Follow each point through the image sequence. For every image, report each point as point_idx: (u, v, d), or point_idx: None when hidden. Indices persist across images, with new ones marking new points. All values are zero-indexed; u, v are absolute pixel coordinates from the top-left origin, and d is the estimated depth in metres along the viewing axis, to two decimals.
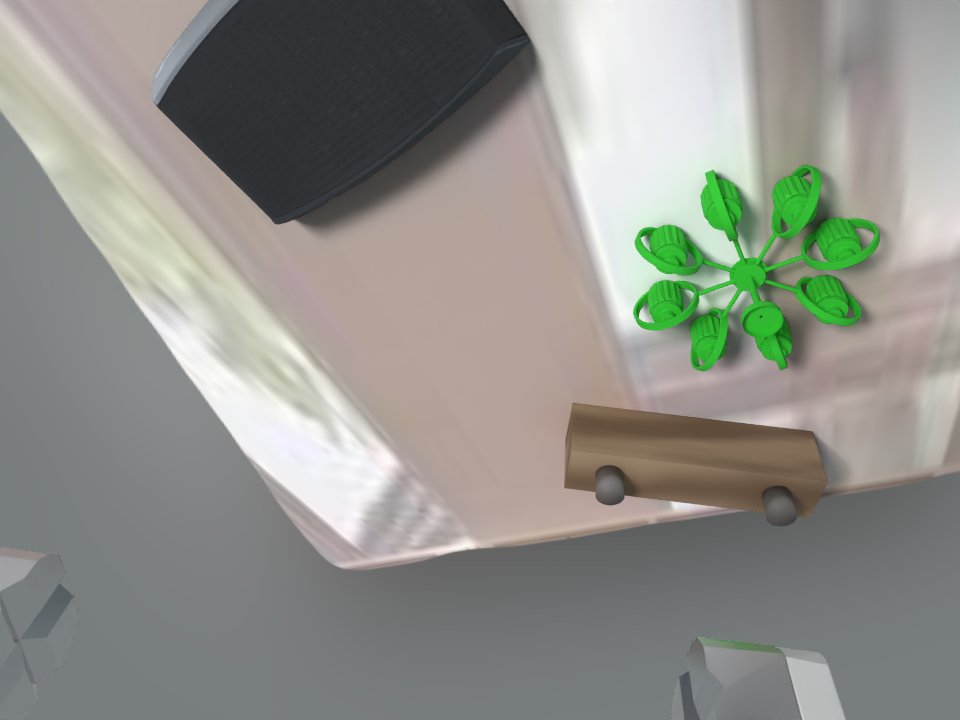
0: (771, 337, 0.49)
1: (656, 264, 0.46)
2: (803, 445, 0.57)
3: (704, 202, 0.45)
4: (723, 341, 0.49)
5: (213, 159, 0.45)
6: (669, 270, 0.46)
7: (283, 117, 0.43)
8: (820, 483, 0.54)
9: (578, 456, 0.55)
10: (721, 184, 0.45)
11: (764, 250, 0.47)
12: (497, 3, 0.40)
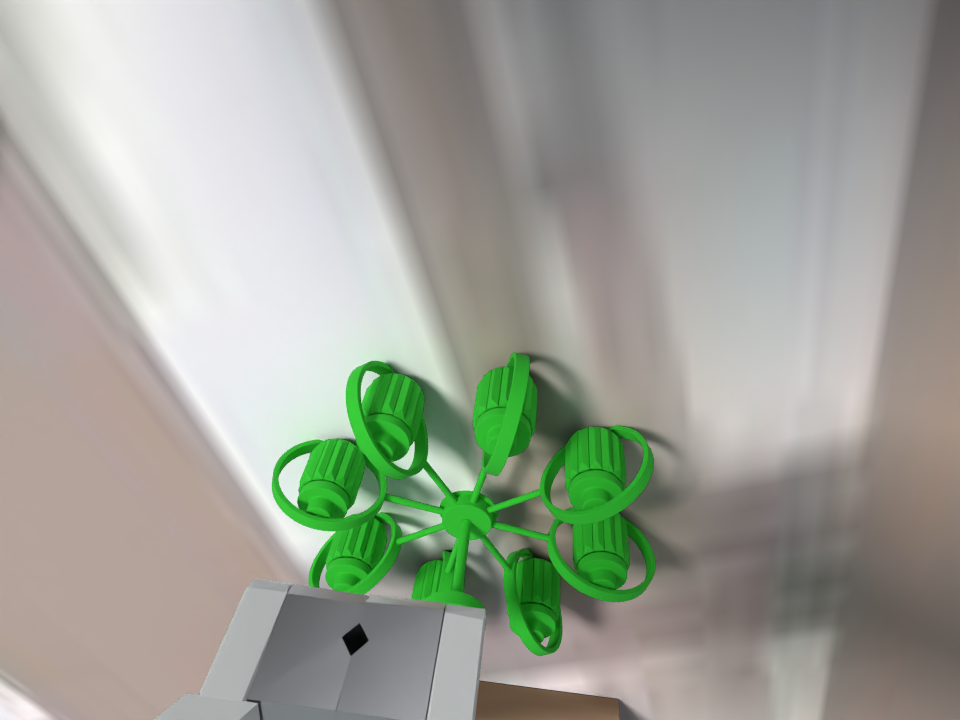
0: (514, 612, 0.30)
1: (291, 516, 0.28)
2: None
3: None
4: None
5: None
6: (312, 526, 0.28)
7: None
8: None
9: None
10: (386, 385, 0.27)
11: (478, 483, 0.28)
12: None
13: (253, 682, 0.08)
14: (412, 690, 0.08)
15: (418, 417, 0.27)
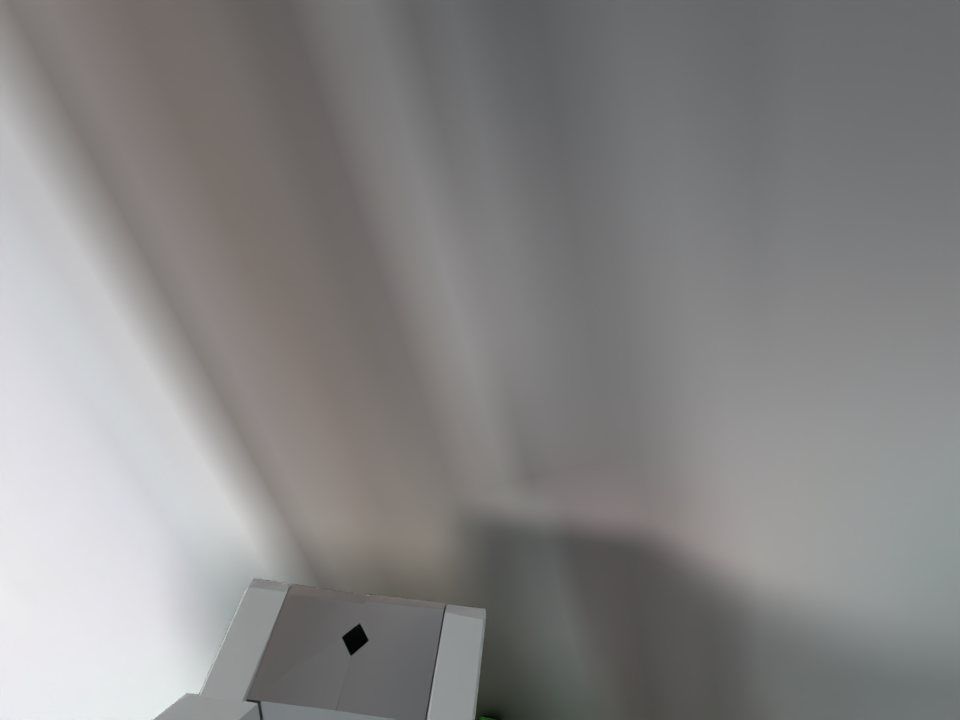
0: None
1: None
2: None
3: None
4: None
5: None
6: None
7: None
8: None
9: None
10: None
11: None
12: None
13: (253, 682, 0.08)
14: (412, 690, 0.08)
15: None
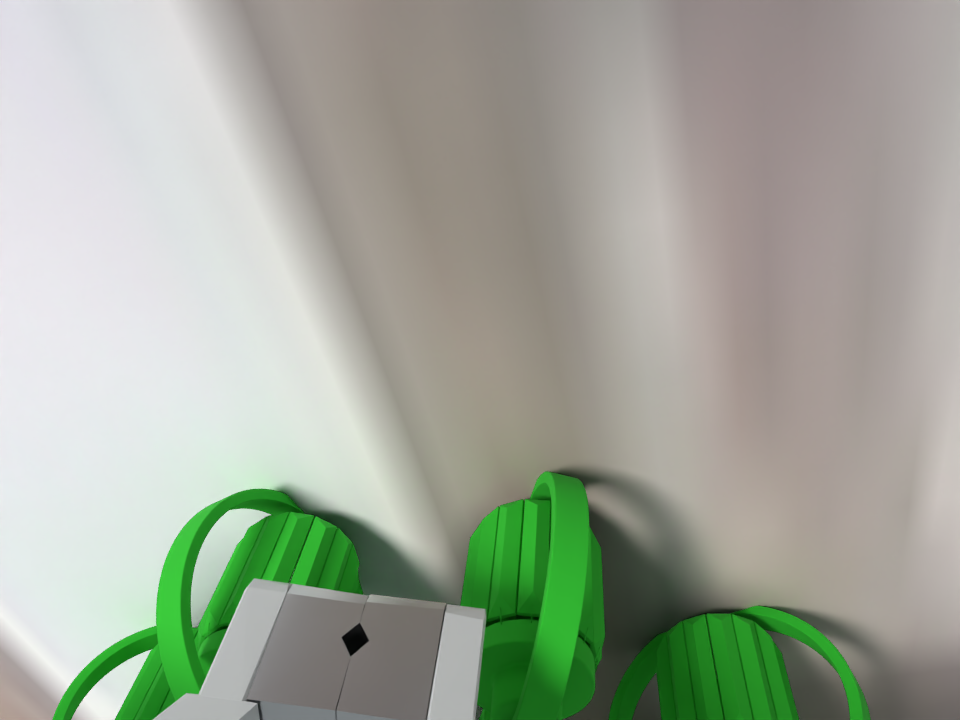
0: None
1: None
2: None
3: None
4: None
5: None
6: None
7: None
8: None
9: None
10: (271, 545, 0.12)
11: None
12: None
13: (253, 682, 0.08)
14: (412, 690, 0.08)
15: None
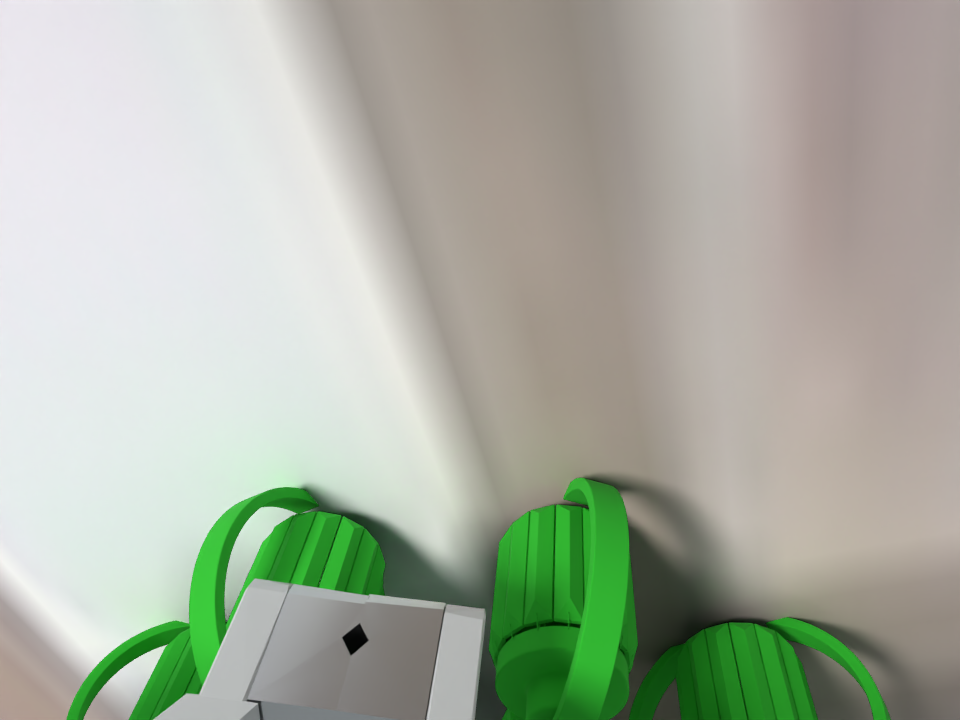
0: None
1: None
2: None
3: None
4: None
5: None
6: None
7: None
8: None
9: None
10: (299, 544, 0.12)
11: None
12: None
13: (254, 682, 0.08)
14: (412, 690, 0.08)
15: None
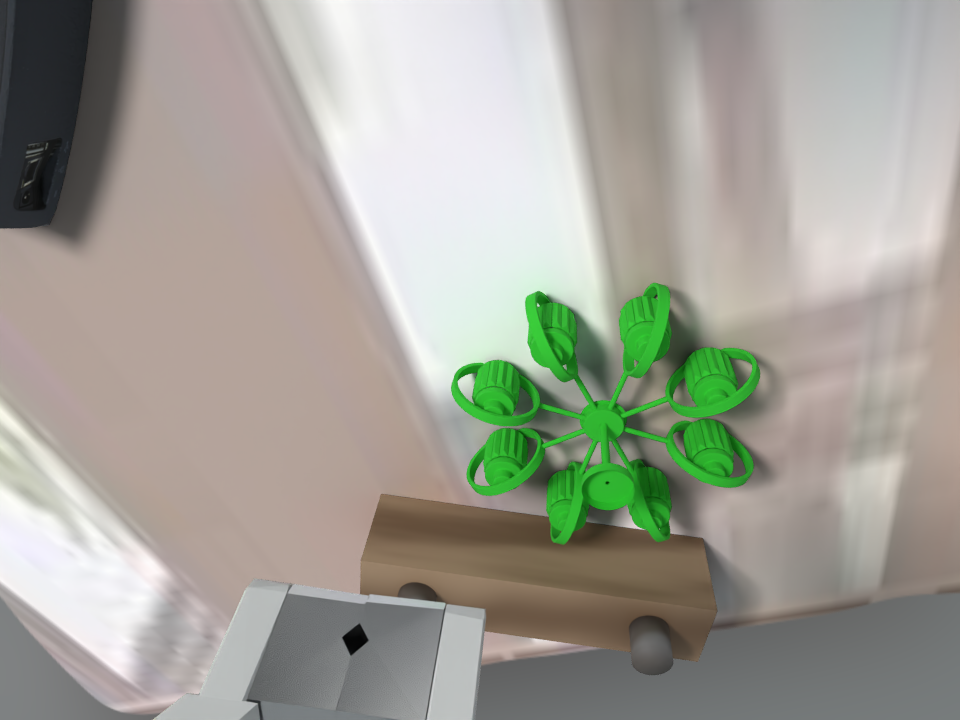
0: (639, 502, 0.37)
1: (472, 413, 0.35)
2: (688, 558, 0.41)
3: (530, 332, 0.35)
4: (578, 508, 0.38)
5: None
6: (489, 421, 0.35)
7: None
8: (706, 613, 0.39)
9: (371, 568, 0.39)
10: (550, 310, 0.35)
11: (616, 391, 0.36)
12: None
13: (254, 682, 0.08)
14: (412, 690, 0.08)
15: (575, 334, 0.35)
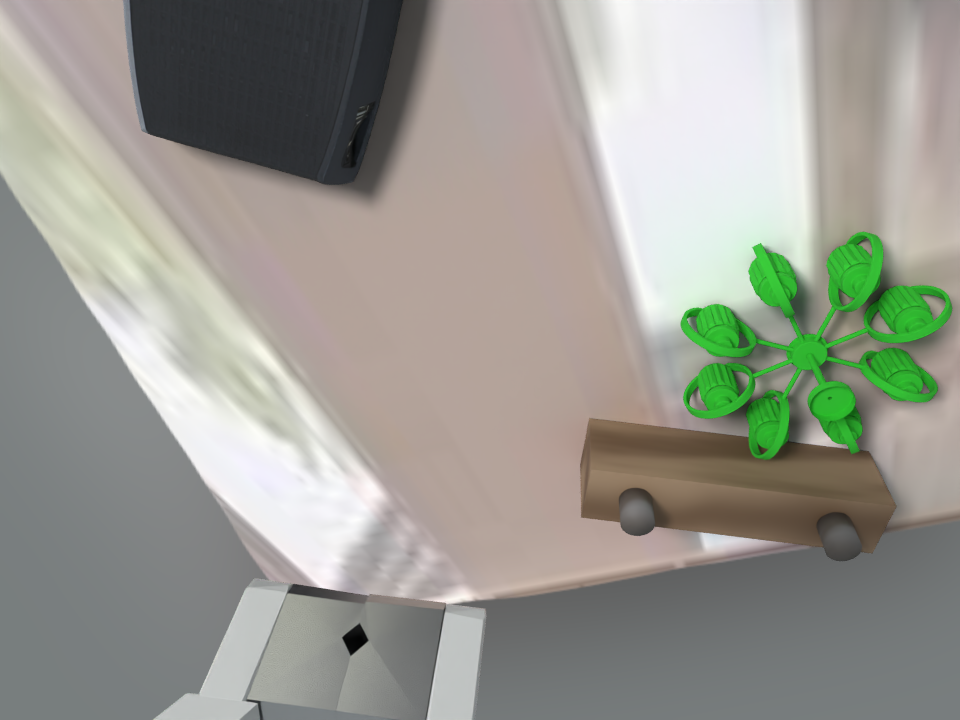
0: (839, 419, 0.44)
1: (707, 347, 0.42)
2: (860, 467, 0.48)
3: (754, 278, 0.42)
4: (786, 426, 0.45)
5: (225, 151, 0.39)
6: (722, 353, 0.42)
7: (246, 46, 0.36)
8: (886, 509, 0.46)
9: (599, 476, 0.46)
10: (771, 258, 0.42)
11: (823, 325, 0.43)
12: None
13: (253, 682, 0.08)
14: (412, 690, 0.08)
15: None
